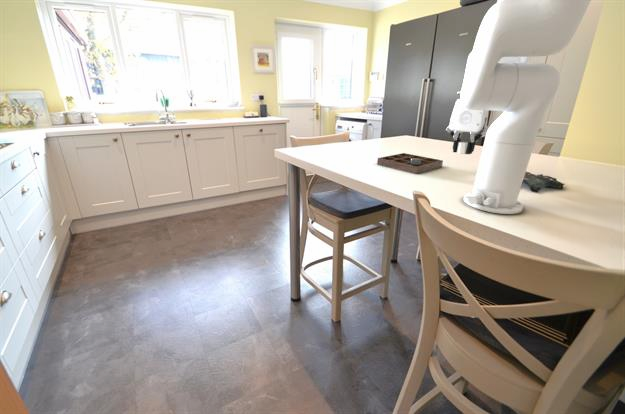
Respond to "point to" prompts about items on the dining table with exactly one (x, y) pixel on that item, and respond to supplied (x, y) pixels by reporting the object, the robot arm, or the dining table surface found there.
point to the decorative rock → (540, 181)
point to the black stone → (415, 161)
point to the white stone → (462, 147)
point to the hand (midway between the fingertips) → (462, 152)
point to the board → (403, 163)
